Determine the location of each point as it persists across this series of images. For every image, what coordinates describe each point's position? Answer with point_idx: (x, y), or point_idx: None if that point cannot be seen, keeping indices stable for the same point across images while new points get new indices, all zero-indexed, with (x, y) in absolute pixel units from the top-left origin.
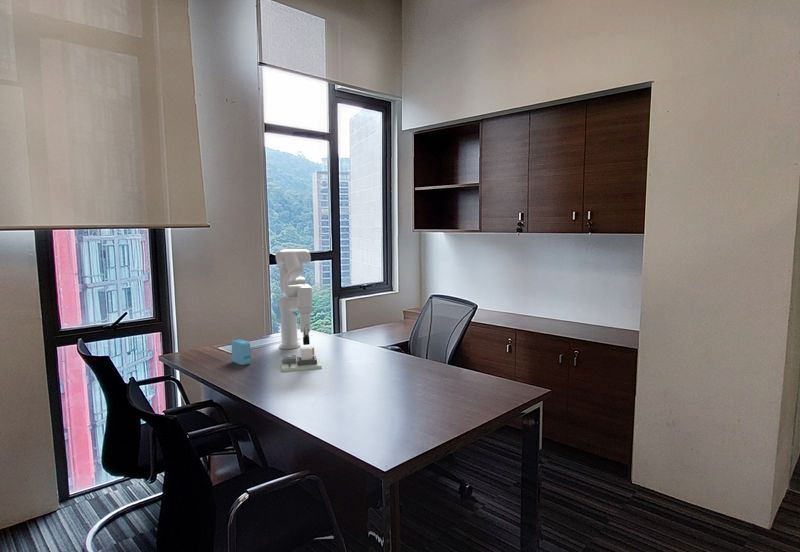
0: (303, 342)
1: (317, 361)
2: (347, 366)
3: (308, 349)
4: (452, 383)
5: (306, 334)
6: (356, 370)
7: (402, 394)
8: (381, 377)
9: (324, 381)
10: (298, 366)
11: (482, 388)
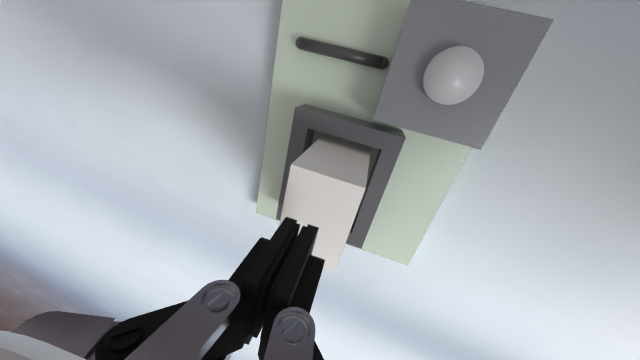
0: (277, 232)
1: None
2: None
3: (280, 222)
4: None
5: (33, 332)
6: (195, 281)
7: (13, 257)
8: (121, 290)
9: (100, 146)
10: (289, 104)
11: None
